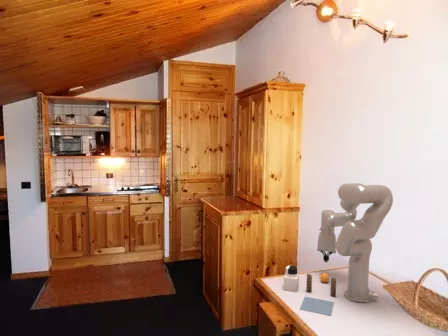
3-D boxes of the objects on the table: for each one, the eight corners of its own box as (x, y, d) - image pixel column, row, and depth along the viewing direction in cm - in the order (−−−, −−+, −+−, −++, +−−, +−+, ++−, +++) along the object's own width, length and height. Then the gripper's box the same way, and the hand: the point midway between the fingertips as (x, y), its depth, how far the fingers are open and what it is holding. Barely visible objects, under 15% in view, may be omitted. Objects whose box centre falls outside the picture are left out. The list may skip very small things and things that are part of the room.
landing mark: (333, 302, 158) (333, 301, 158) (330, 315, 145) (330, 315, 145) (304, 296, 163) (304, 296, 163) (299, 309, 151) (299, 309, 151)
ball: (329, 281, 183) (329, 272, 183) (328, 284, 178) (328, 275, 178) (320, 279, 185) (320, 271, 185) (319, 283, 180) (319, 274, 180)
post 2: (336, 295, 165) (336, 278, 165) (335, 297, 163) (336, 280, 162) (330, 294, 166) (331, 277, 166) (330, 296, 164) (330, 279, 163)
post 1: (311, 291, 170) (312, 274, 170) (311, 293, 168) (311, 276, 167) (306, 290, 171) (307, 273, 171) (306, 292, 169) (306, 275, 168)
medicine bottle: (298, 286, 175) (299, 265, 175) (297, 292, 169) (297, 269, 168) (285, 284, 178) (285, 263, 177) (283, 290, 171) (283, 268, 170)
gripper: (313, 231, 188) (312, 261, 190) (340, 234, 182) (338, 266, 184) (315, 228, 195) (314, 257, 197) (341, 231, 189) (339, 261, 191)
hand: (326, 261), depth 191 cm, fingers closed
